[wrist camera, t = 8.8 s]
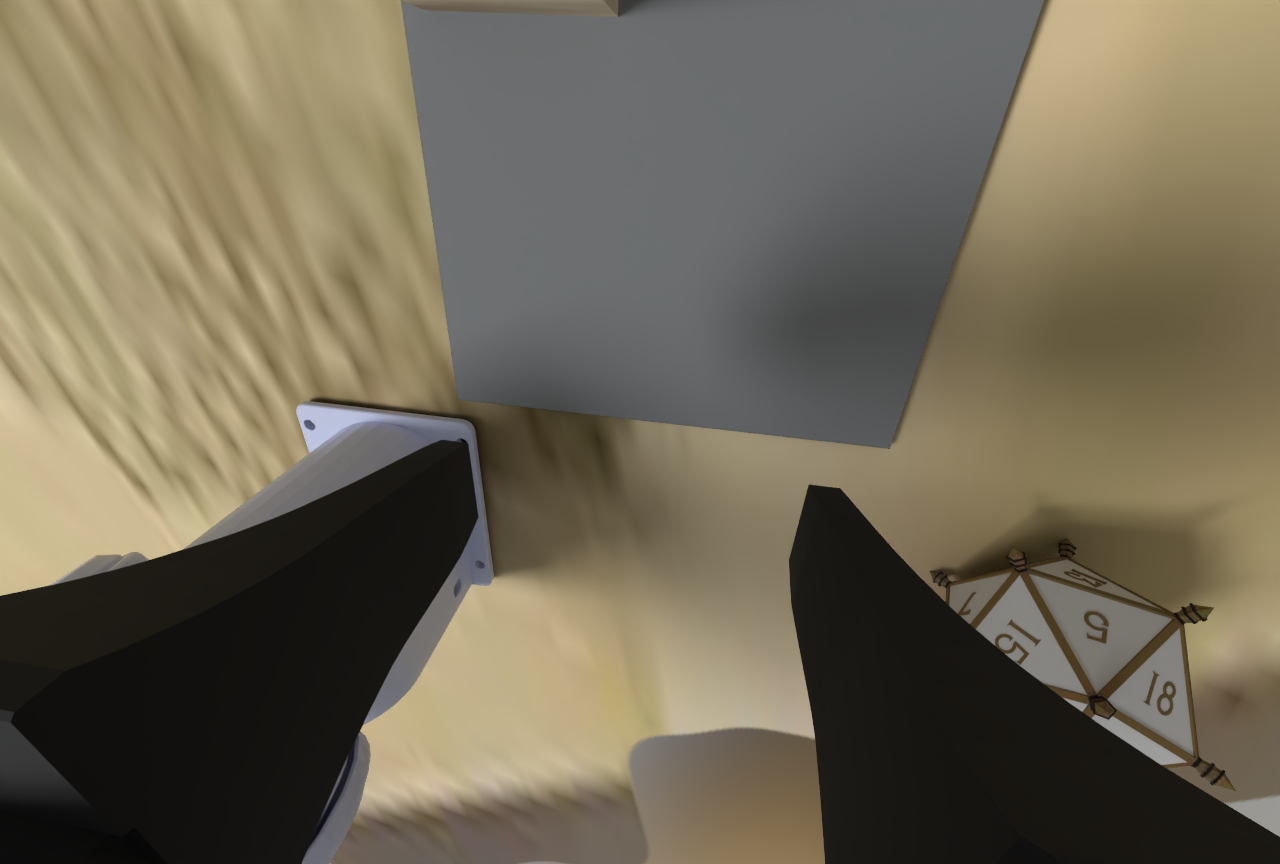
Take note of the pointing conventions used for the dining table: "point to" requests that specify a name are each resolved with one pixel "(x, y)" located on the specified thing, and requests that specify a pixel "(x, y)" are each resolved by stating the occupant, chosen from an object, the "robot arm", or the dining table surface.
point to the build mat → (708, 201)
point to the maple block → (524, 6)
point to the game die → (1093, 649)
